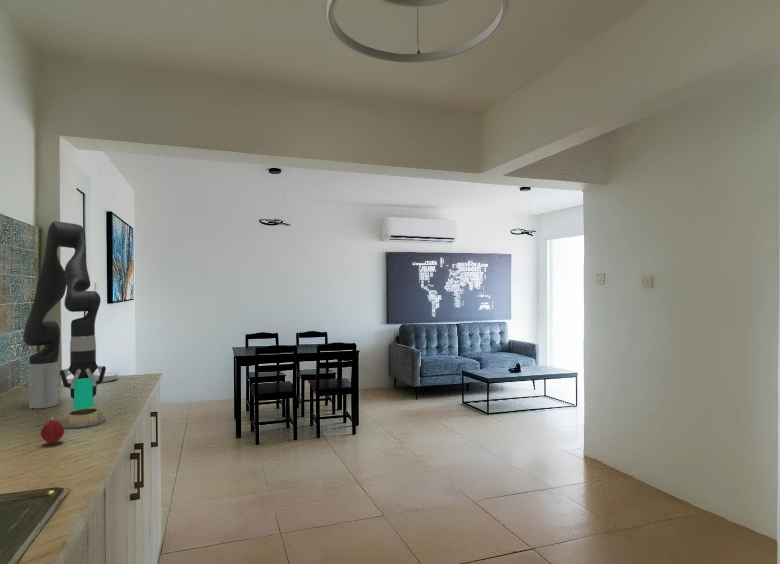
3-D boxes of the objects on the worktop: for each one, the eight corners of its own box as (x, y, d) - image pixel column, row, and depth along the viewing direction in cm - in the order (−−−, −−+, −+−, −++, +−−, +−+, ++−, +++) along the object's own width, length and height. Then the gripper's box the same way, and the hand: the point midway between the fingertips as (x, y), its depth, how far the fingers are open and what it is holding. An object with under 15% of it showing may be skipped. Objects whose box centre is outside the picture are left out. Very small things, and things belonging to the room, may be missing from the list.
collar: (64, 427, 162) (63, 418, 162) (64, 419, 171) (64, 410, 171) (102, 421, 168) (102, 413, 168) (101, 414, 177) (101, 406, 177)
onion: (68, 441, 150) (68, 415, 150) (50, 448, 144) (50, 421, 144) (55, 440, 152) (54, 414, 152) (36, 446, 146) (36, 419, 146)
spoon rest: (117, 378, 248) (116, 364, 248) (119, 382, 238) (119, 367, 238) (60, 384, 234) (60, 369, 234) (60, 388, 225) (60, 373, 225)
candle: (78, 410, 165) (78, 375, 165) (70, 408, 168) (69, 373, 168) (97, 406, 170) (96, 372, 170) (88, 404, 173) (88, 370, 173)
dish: (60, 431, 160) (60, 428, 160) (61, 421, 171) (61, 418, 171) (106, 424, 167) (106, 422, 167) (104, 416, 178) (104, 413, 178)
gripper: (106, 345, 176) (106, 393, 176) (58, 349, 169) (59, 398, 169) (107, 348, 170) (107, 397, 170) (57, 351, 162) (58, 403, 162)
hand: (83, 397), depth 169 cm, fingers closed on candle, 5 cm apart
